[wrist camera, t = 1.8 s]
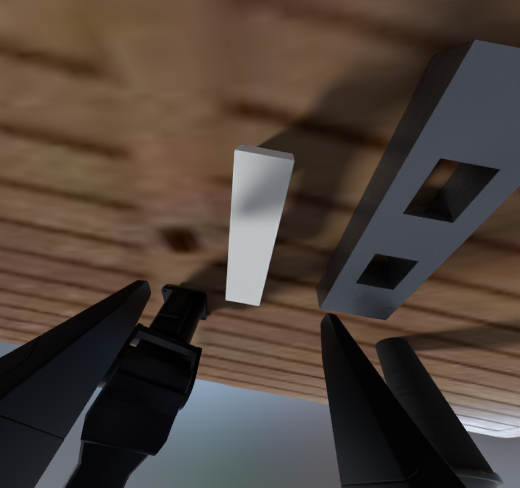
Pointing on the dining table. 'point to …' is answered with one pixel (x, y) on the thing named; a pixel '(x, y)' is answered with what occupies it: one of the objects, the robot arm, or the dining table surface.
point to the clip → (255, 218)
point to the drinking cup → (433, 413)
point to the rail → (417, 170)
